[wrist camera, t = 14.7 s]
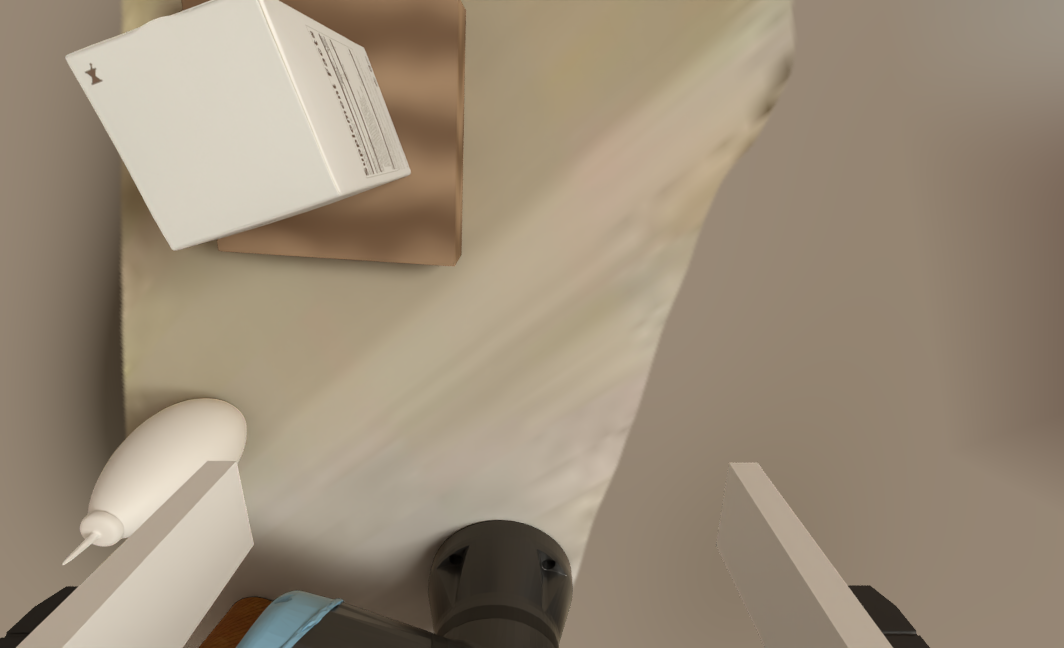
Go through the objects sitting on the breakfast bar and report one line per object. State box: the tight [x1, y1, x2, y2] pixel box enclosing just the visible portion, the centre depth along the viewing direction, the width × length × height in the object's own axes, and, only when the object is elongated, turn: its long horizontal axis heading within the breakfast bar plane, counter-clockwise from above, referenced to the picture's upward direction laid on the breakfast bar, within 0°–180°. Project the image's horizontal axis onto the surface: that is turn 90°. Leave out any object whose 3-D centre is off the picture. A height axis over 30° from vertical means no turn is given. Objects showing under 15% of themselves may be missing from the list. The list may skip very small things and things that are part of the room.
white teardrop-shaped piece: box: [62, 398, 247, 565], centre depth 40 cm, size 8×8×18 cm
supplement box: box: [65, 0, 411, 250], centre depth 29 cm, size 9×9×15 cm
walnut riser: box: [182, 0, 466, 266], centre depth 38 cm, size 18×18×4 cm
